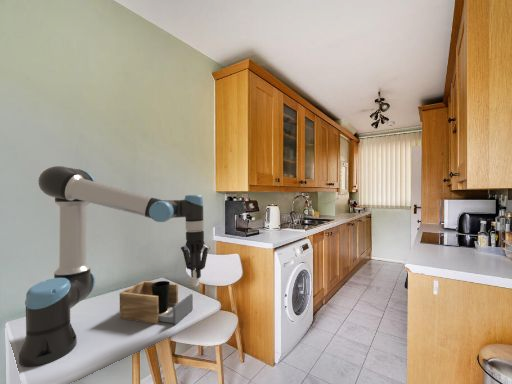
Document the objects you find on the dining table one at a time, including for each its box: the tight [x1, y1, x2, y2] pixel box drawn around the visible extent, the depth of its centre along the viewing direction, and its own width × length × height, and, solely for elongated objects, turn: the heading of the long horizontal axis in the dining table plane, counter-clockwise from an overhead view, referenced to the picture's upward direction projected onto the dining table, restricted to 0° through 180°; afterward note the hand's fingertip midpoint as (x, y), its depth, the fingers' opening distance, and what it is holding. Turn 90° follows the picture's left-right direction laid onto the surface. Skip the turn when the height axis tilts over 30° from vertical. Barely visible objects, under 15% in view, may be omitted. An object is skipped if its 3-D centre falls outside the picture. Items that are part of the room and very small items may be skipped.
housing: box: [119, 280, 179, 324], centre depth 110 cm, size 15×19×11 cm
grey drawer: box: [159, 293, 194, 325], centre depth 108 cm, size 14×18×7 cm
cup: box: [151, 280, 171, 314], centre depth 109 cm, size 8×8×12 cm
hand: (196, 285), depth 104 cm, fingers closed
